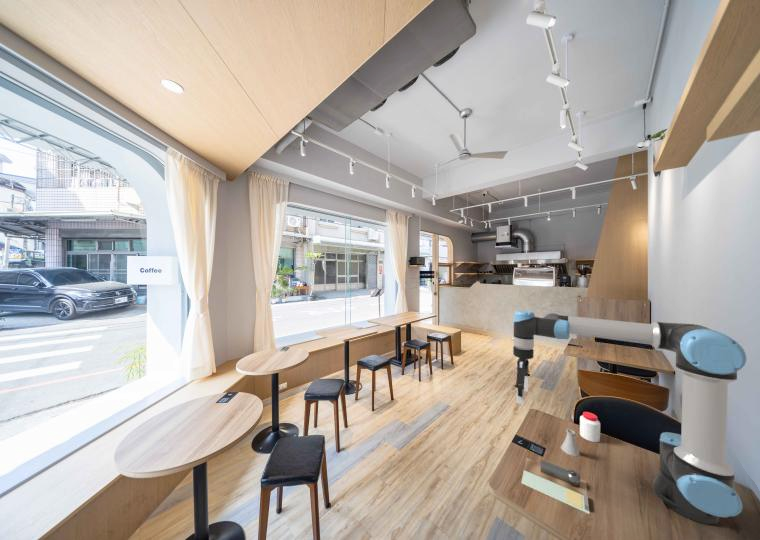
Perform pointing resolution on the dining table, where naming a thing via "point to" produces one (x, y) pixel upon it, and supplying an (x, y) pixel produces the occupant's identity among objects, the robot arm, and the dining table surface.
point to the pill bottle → (590, 427)
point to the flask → (570, 444)
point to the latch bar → (561, 473)
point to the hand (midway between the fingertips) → (522, 396)
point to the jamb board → (535, 468)
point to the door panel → (556, 491)
